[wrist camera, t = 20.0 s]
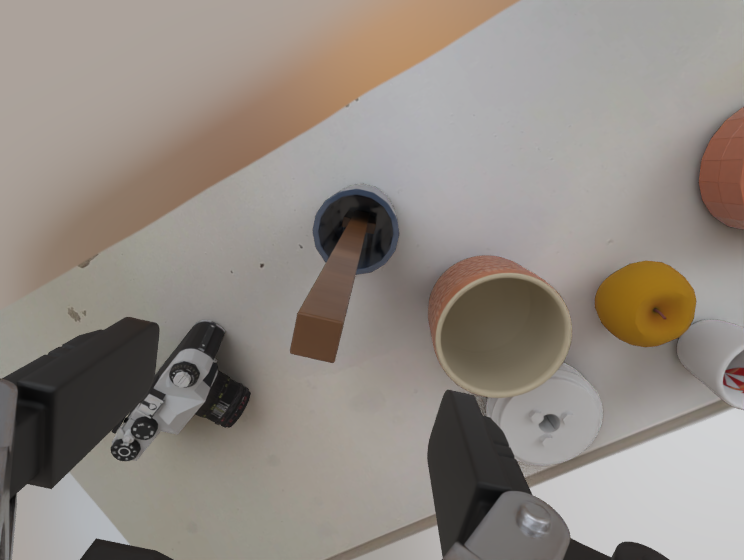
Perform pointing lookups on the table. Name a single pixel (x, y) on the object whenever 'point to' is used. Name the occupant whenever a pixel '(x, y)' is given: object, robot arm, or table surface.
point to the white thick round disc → (550, 418)
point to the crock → (374, 245)
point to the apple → (646, 304)
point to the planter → (497, 327)
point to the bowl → (725, 172)
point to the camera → (182, 394)
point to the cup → (716, 358)
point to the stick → (331, 293)
